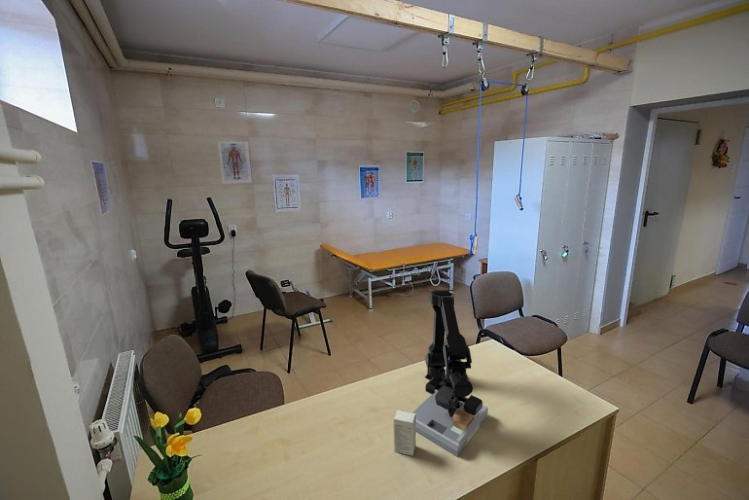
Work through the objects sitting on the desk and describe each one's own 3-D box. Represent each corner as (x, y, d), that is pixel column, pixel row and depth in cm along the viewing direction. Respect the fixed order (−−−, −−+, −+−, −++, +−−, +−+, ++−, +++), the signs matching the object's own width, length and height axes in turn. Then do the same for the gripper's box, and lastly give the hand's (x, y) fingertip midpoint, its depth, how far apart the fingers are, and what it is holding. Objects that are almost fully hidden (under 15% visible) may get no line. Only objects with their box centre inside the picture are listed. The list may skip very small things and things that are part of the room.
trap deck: (404, 424, 118) (404, 412, 117) (437, 393, 134) (438, 381, 133) (456, 456, 105) (457, 443, 104) (487, 417, 121) (488, 405, 120)
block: (452, 425, 115) (453, 415, 114) (459, 417, 119) (460, 407, 118) (466, 432, 112) (467, 422, 111) (473, 424, 116) (474, 414, 115)
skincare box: (416, 445, 110) (417, 413, 106) (412, 456, 106) (413, 423, 102) (396, 440, 112) (397, 408, 108) (392, 451, 108) (393, 418, 104)
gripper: (416, 376, 114) (415, 416, 118) (469, 401, 102) (465, 445, 106) (434, 361, 122) (432, 399, 126) (485, 383, 110) (481, 424, 114)
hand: (451, 416), depth 118 cm, fingers closed
